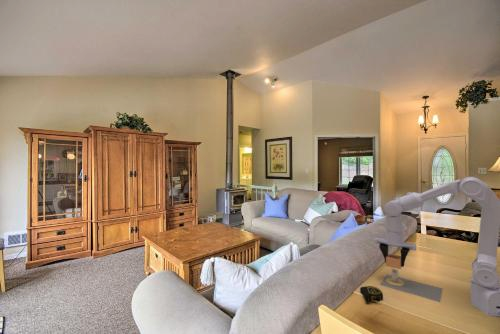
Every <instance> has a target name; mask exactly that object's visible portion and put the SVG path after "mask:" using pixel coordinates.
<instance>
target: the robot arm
mask: <svg viewBox="0 0 500 334" xmlns="http://www.w3.org/2000/svg"><path fill="white" fill-rule="evenodd" d="M460 193H461V194H462V195H463V196H465V197H466V198H469V199H471V200H474V201H475V203H477V204H478V205H479V206H481V212H480V223H479V230H478V231H479V232H478V233H479V234H478V240H477V241H478V242H477V243H478V244H477V249H476V250H477V252H476V255H475V259H474V260H472V262H471V269H472V274H471V275H472V276H471V277H470V304H471V306H473V307H474V308H476V309H478V310H480V311H482V312H483V313H484V314H485V315H486V316H489V317H499V318H500V275H499V273H498V269H497V267H498V264H497V257H498V248H499V247H498V246H499V238H500V236H499V235H500V199H499V197H498V196H497V195H496V193H495V192H494V191H493V190H492V189H491V187H490V186H489V185H488V184H487V183H485V182H484V181H482V180H481V179H479V178H477V177H475V176H466V177H463V178H462V179H456V180H452V181H449V182H445V183H443V184H439V185H438V186H435V187H433V188H430V189H428V190H426V191H424V192H420V193H418V192H416V191H415V192H414V191H413V192H411V191H408V192H407V193H406V195H404V196H401V197H395V198H394V200H390V201H388V202H386V203H385V205H384V208H383V209H384V213H385V238H383V237H382V238H381V237H374V238H373V243H374V244H379V245H378V248H379V249H380V251H381V254H382V256H383V259H384V263H385V264H386V257H387V256H388V254H389V246H391V247H394V248H399V249H400V250H399V251H400V256H401V267H402V268H404V267H405V262H406V259H407V257H408V254H409V252H410V251H416V250H417V245H416V244H415V243H410V242H407V241H403V240H404V239H403V217H402V213H407V212H410V211H413V210H415V209H418V208H421V207H423V206H424V203H425V202H426V201H427V202H428V201H429V200H432V199H433V200H434V199H436V198H439V197H442V196H445V195H448V194H450V195H457V196H459V195H460Z"/></svg>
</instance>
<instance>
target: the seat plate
mask: <svg viewBox="0 0 500 334" xmlns="http://www.w3.org/2000/svg"><path fill="white" fill-rule="evenodd" d="M379 285H380V286H383V287H385V288H386V287H387V288H389V289H393V290H397V291H399V292H404V293H407V294H410V295H413V296H414V295H415V296H416V297H417V296H418V297H421V298H423V299H424V298H425V299H428V300H431V301H435V302H437V303H441V301H442V294H443V290H444V288H442V287H439V286H436V285H435V286H434V285H431V284H427V283H423V282H419V281H416V280H411V279H408V278H405V277H404V278H403V277H401V276H398V283H394V282H392V274H386V275H385V276H384V278H383V279H382V280H381V282H380V283H379Z"/></svg>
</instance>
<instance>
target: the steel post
mask: <svg viewBox="0 0 500 334" xmlns="http://www.w3.org/2000/svg"><path fill="white" fill-rule="evenodd" d="M391 275H392V282H394V283H398V277H399V269H397V268H393V269H391Z"/></svg>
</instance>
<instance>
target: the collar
mask: <svg viewBox="0 0 500 334" xmlns="http://www.w3.org/2000/svg"><path fill="white" fill-rule="evenodd" d="M385 266H386V267H389V268H393V269H396V270H401V269H402V268H403V267H401V255H397V254H393V253H392V254H391V253H388V256H387V257H386V263H385Z"/></svg>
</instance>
